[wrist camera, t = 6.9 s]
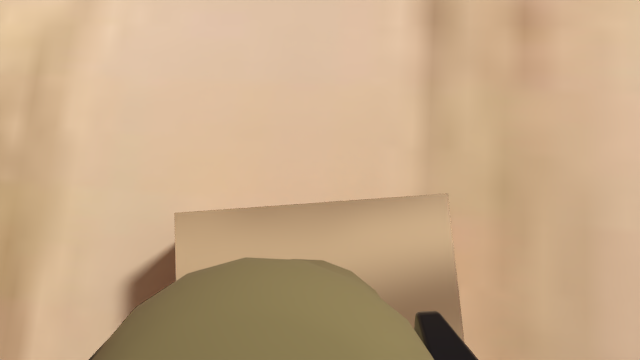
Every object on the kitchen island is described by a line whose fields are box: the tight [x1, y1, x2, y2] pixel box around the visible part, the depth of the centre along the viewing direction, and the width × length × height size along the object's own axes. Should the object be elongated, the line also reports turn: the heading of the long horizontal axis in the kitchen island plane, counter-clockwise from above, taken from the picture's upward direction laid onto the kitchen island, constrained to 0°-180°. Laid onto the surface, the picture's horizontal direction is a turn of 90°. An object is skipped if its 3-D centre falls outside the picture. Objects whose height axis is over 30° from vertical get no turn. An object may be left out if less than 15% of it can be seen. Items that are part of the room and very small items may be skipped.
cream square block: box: [174, 194, 464, 342], centre depth 21 cm, size 10×10×4 cm
